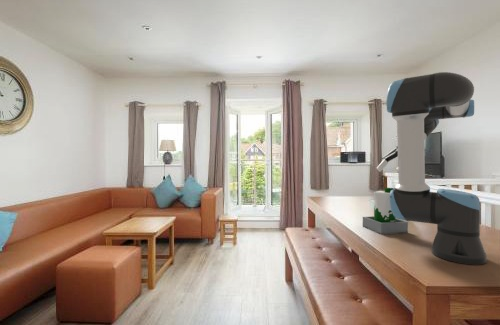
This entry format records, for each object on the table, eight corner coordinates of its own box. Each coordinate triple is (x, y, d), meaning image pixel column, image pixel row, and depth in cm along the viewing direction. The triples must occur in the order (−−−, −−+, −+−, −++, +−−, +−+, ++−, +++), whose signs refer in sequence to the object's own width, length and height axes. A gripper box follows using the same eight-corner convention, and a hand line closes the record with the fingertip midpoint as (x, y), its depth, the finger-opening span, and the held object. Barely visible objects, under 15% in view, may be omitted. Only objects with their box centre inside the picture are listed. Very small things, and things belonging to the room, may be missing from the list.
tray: (407, 232, 119) (407, 222, 119) (381, 234, 117) (381, 223, 117) (386, 225, 133) (386, 215, 133) (362, 226, 131) (362, 216, 131)
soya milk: (390, 231, 119) (390, 189, 118) (371, 227, 126) (371, 187, 125) (398, 228, 124) (398, 187, 124) (379, 225, 131) (379, 186, 131)
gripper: (441, 144, 116) (413, 177, 113) (399, 146, 140) (375, 174, 138) (431, 132, 115) (402, 165, 112) (391, 137, 139) (366, 164, 137)
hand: (387, 170), depth 125 cm, fingers open, 13 cm apart
